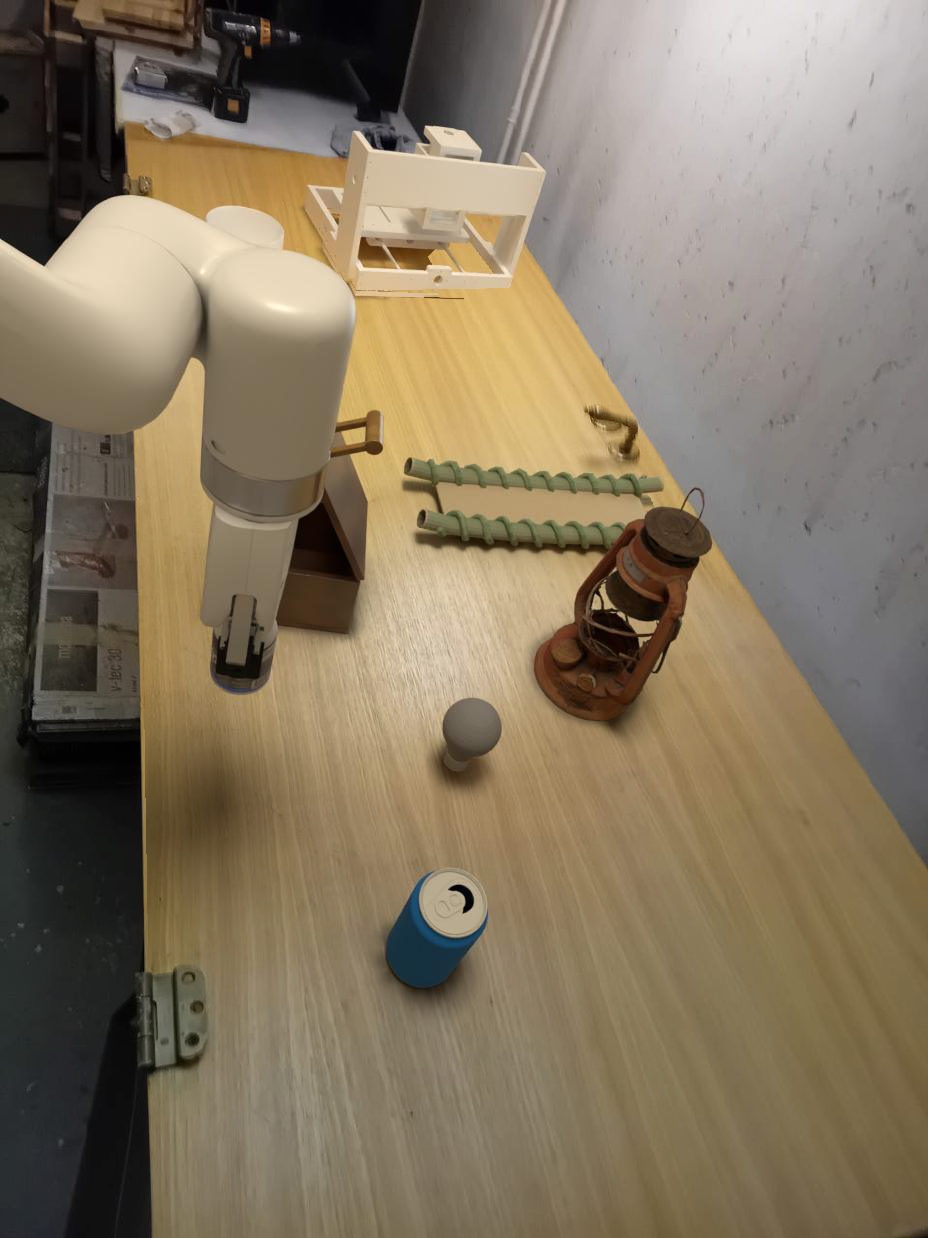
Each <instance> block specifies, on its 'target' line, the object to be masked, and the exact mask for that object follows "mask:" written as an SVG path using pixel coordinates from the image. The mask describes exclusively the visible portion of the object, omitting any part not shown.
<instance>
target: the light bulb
mask: <svg viewBox="0 0 928 1238" xmlns="http://www.w3.org/2000/svg"><path fill="white" fill-rule="evenodd" d="M502 724H503V723H502V720H501V717H500V714H499V712H498V711H497V710H496V708H495V707H494V705H492V704H491V703H490V702H488V701H487V700H484V699H482V698H478V697H465V698H462V699H460V700H457V701H456V702H454V703H453V704H451V706H449V708H448V709H447V710H446V712H445V714H444V715H443V720H442V729H441V730H442V735H443V739H444V741H445V743H446V751H445V753H444V756H443V762H444V764H445V766H446V767H447V768H448V769H449V770H451V771H454V772H461V771H464V770H465V769H466V768H467V766H468V764H469V762H470V761H472V760H473V759H475V758H479V757H484V756H485V755H487V754H488V753H490V752H491V751H492V750H493V749H494V748H495V747H496V746H497V745H498V743H499V741H500V739H501V738H502V737H501V736H502V732H503V731H502V730H503V729H502V728H503V727H502V726H503V725H502Z"/></svg>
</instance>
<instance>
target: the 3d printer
mask: <svg viewBox="0 0 928 1238" xmlns="http://www.w3.org/2000/svg"><path fill="white" fill-rule="evenodd" d="M423 135H424V136H425V137H426V139H427V140H428V141H429V143H423V142H416V143H415V147H414V152H413V153H411V152H410V153H409V152H400V151H393V150H392V151H391V150H383V149H374V148H373V147H372V146H371V144H370V143H369V141H368V140H367V139H366V138H365V137H366V136H364V135H363V133H362V132H361V131H359V130H352V133H351V139H350V146H349V153H348V157H347V165H346V172H345V178H344V185H343V187H336V186H325V185H314V184H313V185H312V184H306V193H305V199H304V207H303V208H304V211H305V213H306V214H307V216H308V218H309V219H310V221H311V223H312V225H313V226H314V228H315V230H316V231H317V233H318V235H319V236H320V238H321V240H322V242H323V243H322V252H323V253H324V255H325V257H326V258H327V260H328V262H329V263H330V266H331V268H332V269H333V270H334V271H335V272H336V273H337V274H338V275H339V276H340V277H341V278H342V276H343V278H344V280H345V281H352V283H351V282H346V283H347V285H348V286H349V288H350V290H351V292H352V294H354V296H355V297H381V298H382V297H383V298H384V297H386V298H414V299H415V298H417V299H418V298H419V299H420V298H421V299H425V298H424V296H425V295H439V294H438V293H408V292H378V291H377V290H384V291H388V290H390V291H392V290H394V291H395V290H422V289H482V288H483V289H486V288H509V287H510V288H511V285H512V283H513V279H514V274H515V271H516V268H517V265H518V262H519V259H520V255H521V252H522V249H523V246H524V243H525V241H526V237H527V234H528V230H529V228H530V225H531V222H532V218H533V216H534V212H535V209H536V206H537V204H538V203H537V202H538V200H539V197H540V194H541V191H542V188H543V185H544V181H545V178H546V176H547V171H546V170H545V169H544V168H543V167H542V166H541V165H540V163H538V161H537V160H535V158H534V157H533V156H532V155H531V154H530V153H529V152H525V151H522V152H521V153H520V157H519V160H518V163H517V165H511V164H503V163H494V162H487V161H481V157H482V153H483V149H482V148H481V147H480V146H479V145H478V144H477V143H476V142H475V141H474V139H473V138H472V137H471V136H470V135H469V134H468V133H467V132H466V131H465V130H460V129H457V128H452V127H445V126H437V125H433V126H432V125H424V130H423ZM327 208H333V209H327ZM335 208H336V209H335ZM333 215H339V218H338V223H337V222H336V220H335V218H334V217H333ZM466 215H479V216H489V217H490V216H491V217H501V220H500V224H499V226H498V231H497V233H496V237H495V240H494V243H491V242H490V241H486V240H484V239H483V237H482V236H481V235H480V234H479V232H478V231H477V230H476V228H475V227H474V226H473V224H471V222H470V221H469V219H467V217H466ZM319 228H320V229H319ZM322 233H323V234H322ZM362 238H365V241H366V242H367V244H368V245H369V246H371V247H382V249H383V250H384V252H385V254H386V255H387V256H388V258H389V260H390V262H392V264H393V266H394V267H395V268H380V267H364V265H363V264H362V262H361V261H360V259H359V257H358V256H359V250H360V245H361V244H360V243H361V239H362ZM468 241H469V242H470V243H471V244H472V245H473V247H474V248H475V249H476V251H477V252H478V253H479V255H480V256H481V257H482V259H483V260H484V261H485V262H486V264H487V265H488V266H489V268H490V269H491V270H492V272H493V273H494V274H489V273H480V272H467V271H465V270H464V268H463V267H462V266H461V264H460V263H459V261H458V260H457V259H456V257H455V256H454V255H453V253H452V252H451V251H450V249H449V247H450V244H451V243H452V244H458V243H466V244H467V243H468ZM323 244H324V245H325V247H326V249H327V250H328V252H329V254H330V255H331V257H332V259H333V261H334V262H333V261H332V259H331V257H330V256H329V254H328V252H327V250H326V249H325V247H324V245H323ZM388 247H389V248H390V247H391V248H404V249H405V248H407V249H419V250H420V249H422V250H438V251H445V253H446V254H447V255H448V256H449V258H450V259H451V261H452V262H453V263H454V265H455V266H456V267H457V269H458V270H459V271H453V268H452V267H451V266H450V265H440V264H439V265H438V264H428V265H426V269H425V270H423V269H405V268H403V269H402V268H401V267H400V266H399V264H398V263H397V261H396V259H395V258H394V257H393V255H392V254H391V251H390V250H389V248H388ZM334 263H335V264H334ZM335 265H336V266H337V267H338V269H339V271H340V272H341V274H342V276H341V274H340V273H339V271H338V269H337V268H336V266H335ZM437 277H440V278H439V279H438V280H437V281H435V279H436V278H437ZM352 284H353V285H354V286H353V285H352ZM354 287H355V288H354ZM355 289H356V290H367V291H356V290H355ZM368 290H370V291H368ZM371 290H376V291H371ZM443 295H444V294H443Z"/></svg>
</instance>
